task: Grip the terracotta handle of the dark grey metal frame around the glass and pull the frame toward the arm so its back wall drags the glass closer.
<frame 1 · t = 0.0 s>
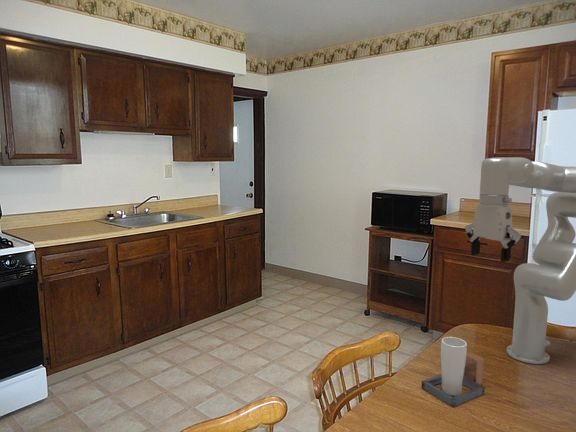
hand: (489, 257, 123), 37 cm above the table, tool pointing down, fingers open, 9 cm apart
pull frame: (457, 375, 118), point 4 cm above the table, slide at 0.0 cm
drinking glass: (451, 392, 118), resting in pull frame
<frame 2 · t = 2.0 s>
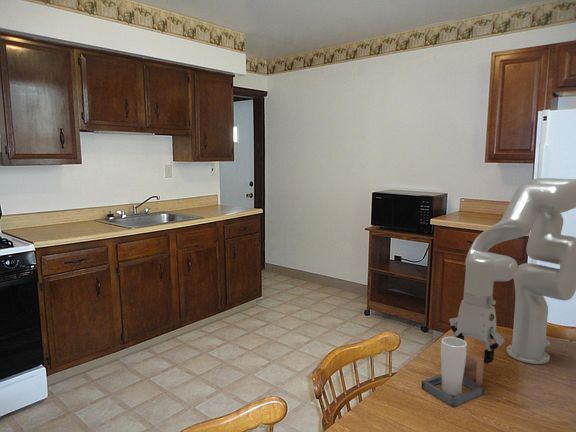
hand: (473, 355, 121), 9 cm above the table, tool pointing down, fingers open, 9 cm apart
nothing on the table moved.
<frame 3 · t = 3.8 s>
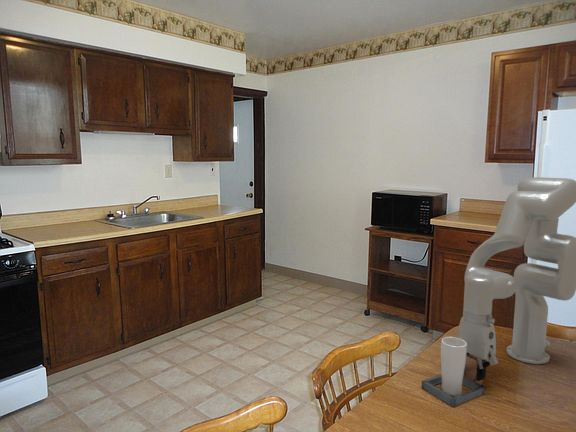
hand: (473, 375, 122), 2 cm above the table, tool pointing down, fingers closed on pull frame, 4 cm apart
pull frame: (457, 375, 118), point 4 cm above the table, slide at 0.0 cm, touching gripper
everything else where it was.
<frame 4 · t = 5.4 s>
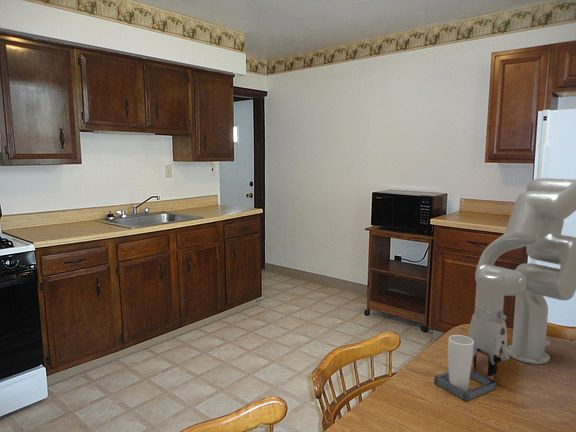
hand: (484, 370, 125), 2 cm above the table, tool pointing down, fingers closed on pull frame, 4 cm apart
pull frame: (469, 371, 121), point 4 cm above the table, slide at 5.2 cm, touching drinking glass, gripper
drinking glass: (458, 389, 119), resting in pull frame
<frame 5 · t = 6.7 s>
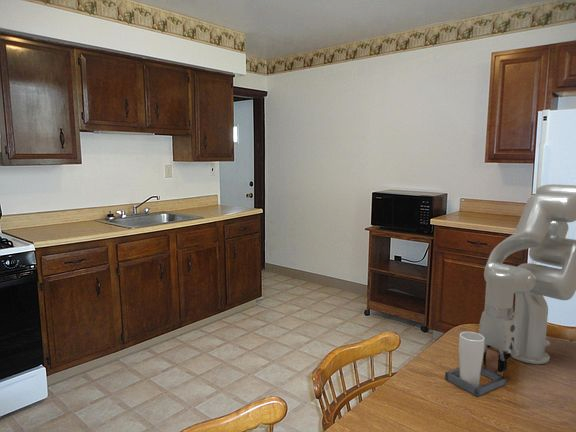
hand: (494, 367, 127), 2 cm above the table, tool pointing down, fingers closed on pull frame, 4 cm apart
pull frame: (480, 367, 123), point 4 cm above the table, slide at 9.9 cm, touching drinking glass, gripper
drinking glass: (469, 385, 121), resting in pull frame
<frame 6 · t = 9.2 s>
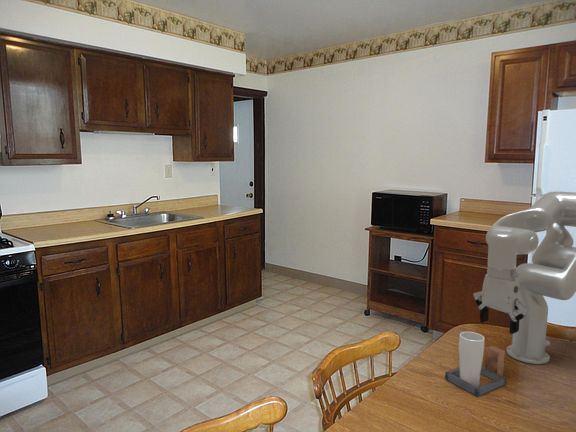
hand: (498, 326, 126), 15 cm above the table, tool pointing down, fingers open, 9 cm apart
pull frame: (480, 367, 123), point 4 cm above the table, slide at 9.9 cm
drinking glass: (469, 385, 121), resting in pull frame
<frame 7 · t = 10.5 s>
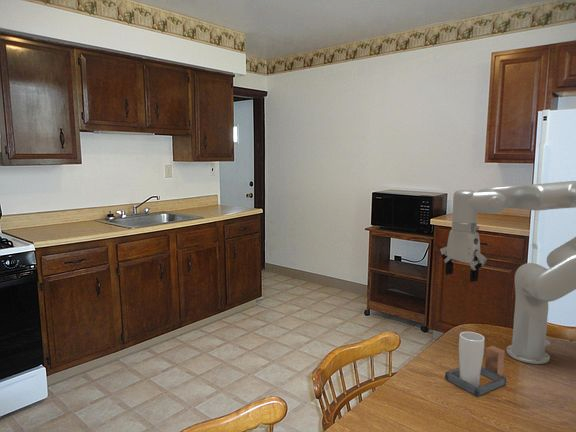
hand: (461, 277, 139), 26 cm above the table, tool pointing down, fingers open, 9 cm apart
nothing on the table moved.
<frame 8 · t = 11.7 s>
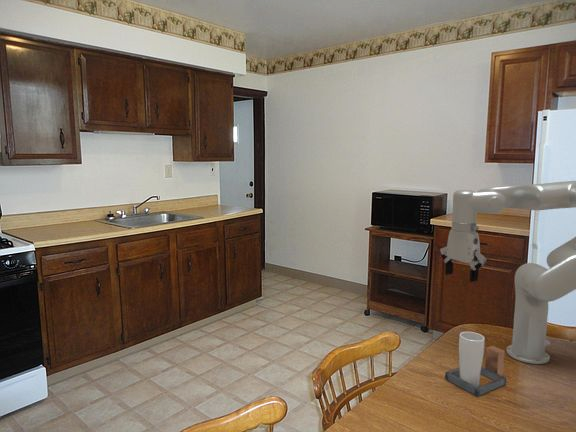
hand: (460, 277, 139), 26 cm above the table, tool pointing down, fingers open, 9 cm apart
nothing on the table moved.
at the end: drinking glass inside the target area (1.9 cm from its centre), resting in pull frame; drinking glass tilted 0°; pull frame slide at 9.9 cm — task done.
